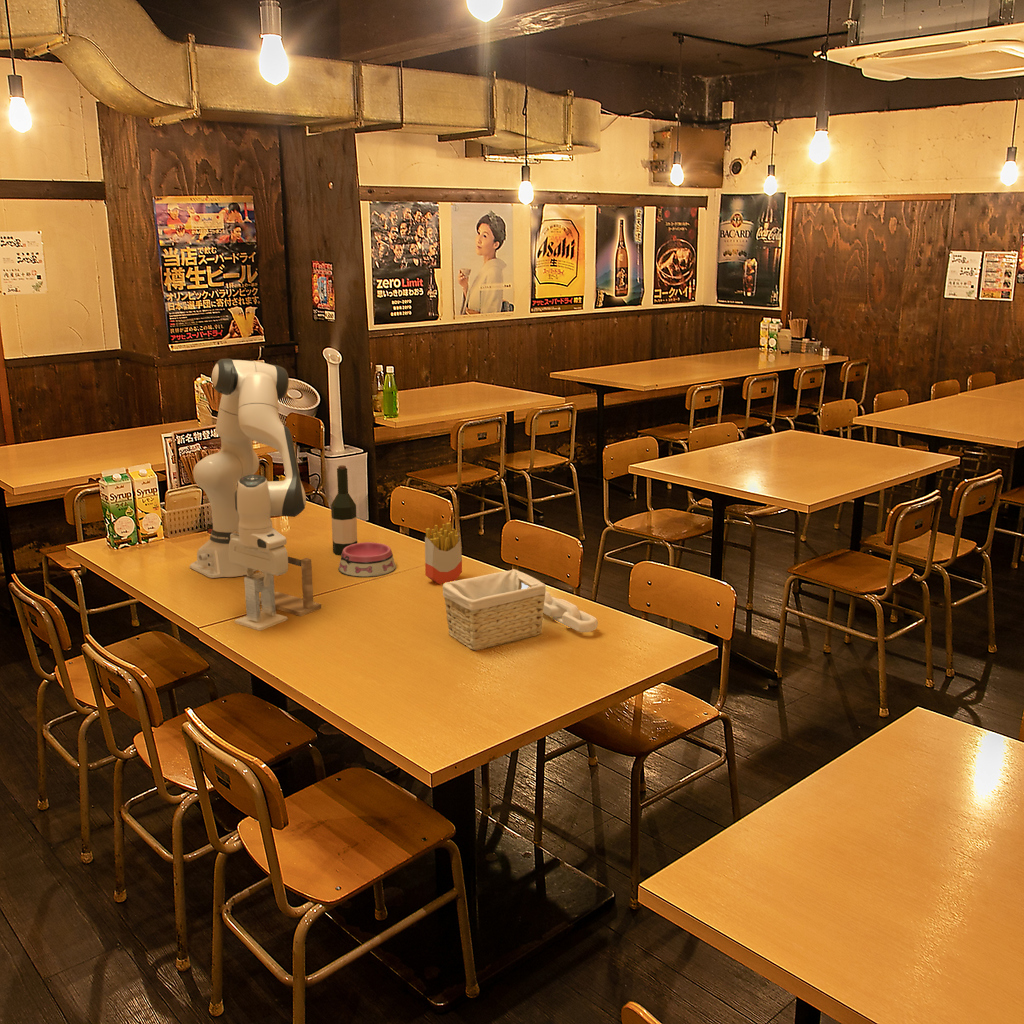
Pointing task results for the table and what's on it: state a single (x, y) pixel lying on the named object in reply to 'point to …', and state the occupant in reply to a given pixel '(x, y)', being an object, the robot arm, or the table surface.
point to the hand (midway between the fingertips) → (259, 584)
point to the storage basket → (494, 608)
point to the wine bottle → (343, 515)
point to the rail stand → (305, 604)
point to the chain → (568, 614)
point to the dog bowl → (367, 560)
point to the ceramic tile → (261, 621)
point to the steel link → (252, 596)
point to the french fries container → (443, 554)
